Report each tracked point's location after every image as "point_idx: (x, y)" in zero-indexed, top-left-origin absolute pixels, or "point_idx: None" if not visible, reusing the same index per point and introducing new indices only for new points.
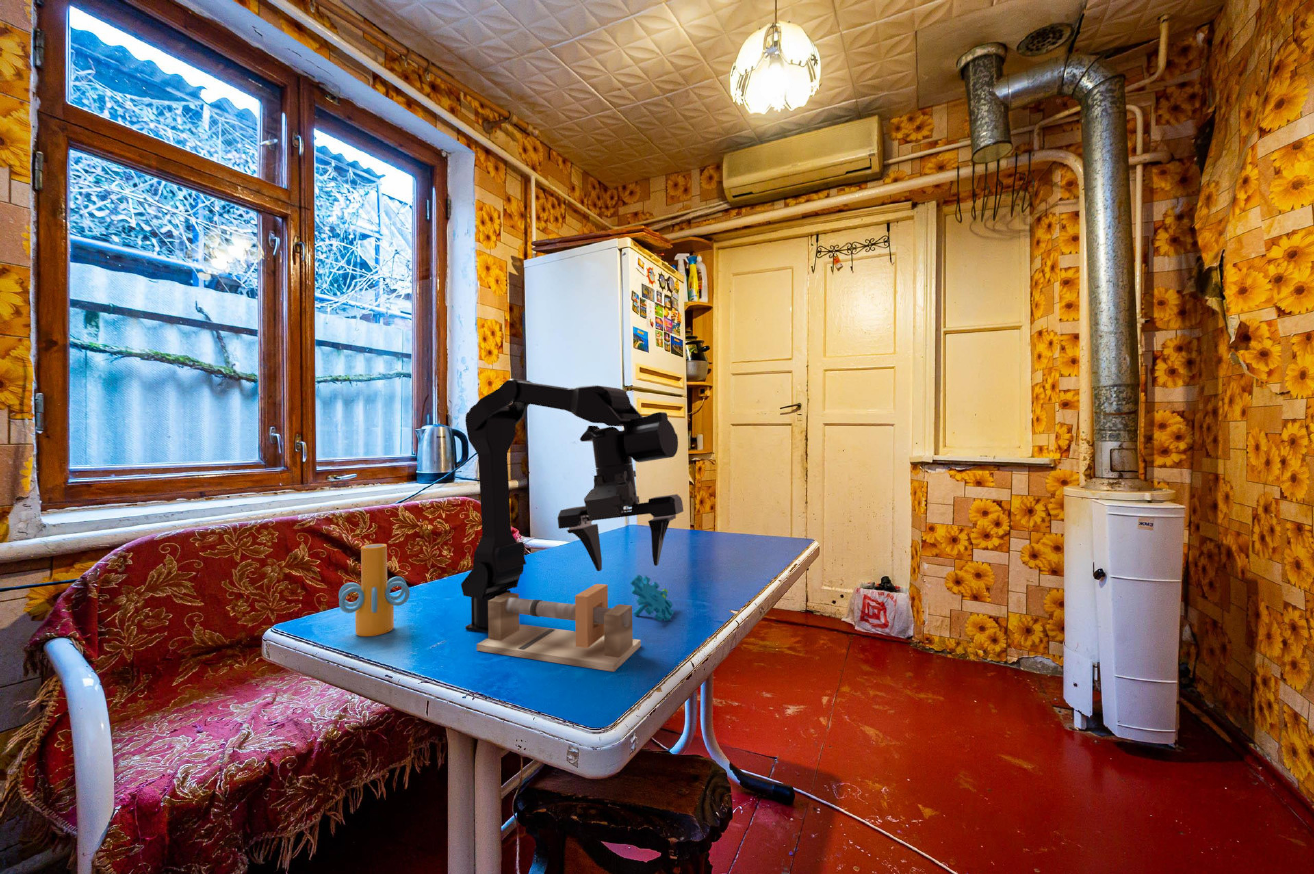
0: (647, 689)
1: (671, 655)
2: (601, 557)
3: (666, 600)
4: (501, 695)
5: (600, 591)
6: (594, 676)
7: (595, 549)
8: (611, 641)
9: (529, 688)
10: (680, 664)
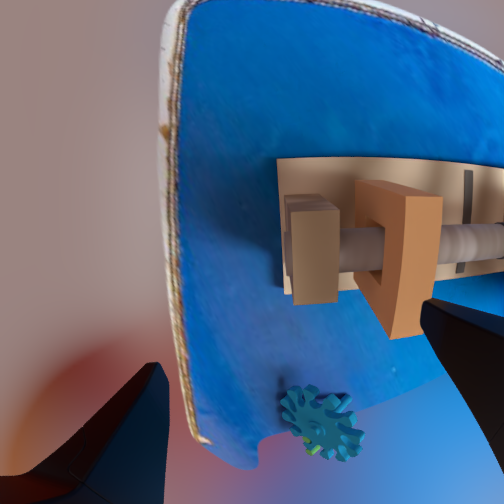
0: (183, 123)
1: (208, 271)
2: (443, 365)
3: (300, 433)
4: (397, 30)
5: (394, 290)
6: (302, 128)
7: (486, 355)
8: (305, 198)
9: (378, 56)
10: (175, 240)
